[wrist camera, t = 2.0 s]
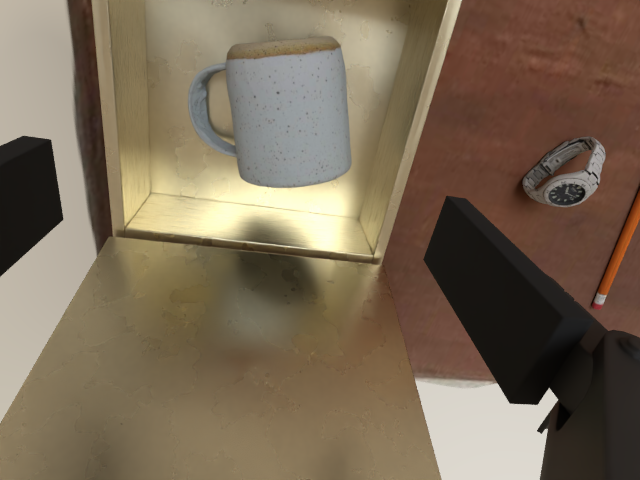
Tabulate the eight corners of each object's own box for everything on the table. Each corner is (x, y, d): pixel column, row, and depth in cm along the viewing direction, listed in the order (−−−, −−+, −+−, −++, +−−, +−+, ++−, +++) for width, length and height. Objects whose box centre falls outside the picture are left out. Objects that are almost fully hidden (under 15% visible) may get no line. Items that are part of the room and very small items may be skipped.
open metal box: (132, -75, 23) (80, -108, 17) (424, -7, 26) (467, -15, 20) (144, 196, 31) (112, 237, 25) (364, 223, 34) (381, 265, 28)
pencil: (589, 304, 42) (595, 310, 41) (660, 131, 32) (669, 134, 32) (597, 304, 42) (603, 309, 41) (669, 131, 33) (679, 133, 32)
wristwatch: (508, 178, 33) (542, 202, 29) (570, 122, 31) (616, 138, 27) (530, 201, 35) (566, 227, 30) (591, 149, 33) (638, 168, 28)
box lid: (-145, 669, 10) (-63, 679, 14) (482, 631, 13) (428, 646, 17) (108, 235, 25) (119, 290, 28) (384, 265, 28) (365, 311, 31)
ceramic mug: (336, 30, 26) (353, 33, 19) (343, 149, 30) (359, 186, 23) (178, 47, 26) (139, 56, 19) (207, 164, 30) (184, 206, 23)
